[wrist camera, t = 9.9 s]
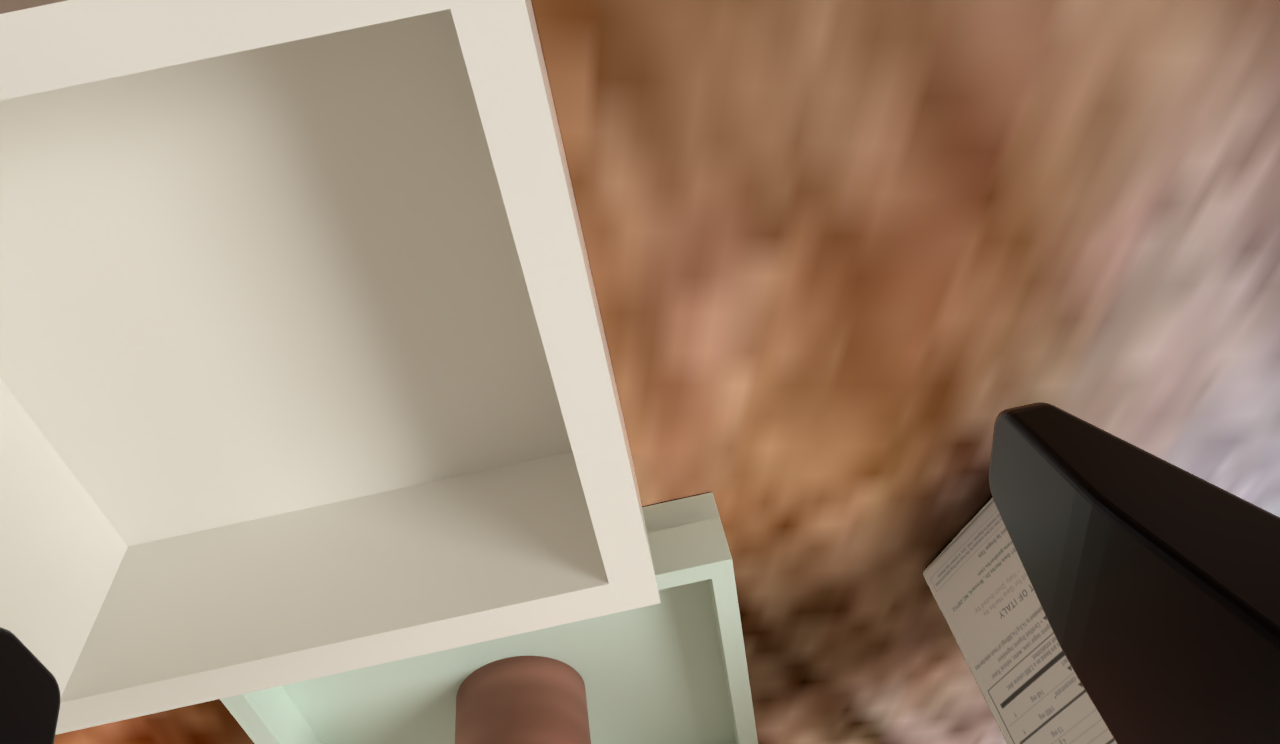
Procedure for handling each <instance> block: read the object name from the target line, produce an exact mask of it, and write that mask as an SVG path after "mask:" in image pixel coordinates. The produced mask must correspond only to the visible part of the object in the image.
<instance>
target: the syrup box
mask: <svg viewBox="0 0 1280 744" xmlns="http://www.w3.org/2000/svg"><path fill="white" fill-rule="evenodd" d="M923 576H924V578H925V580H926V583H927V585H928V586H929V588H930V590H931V592H932V595H933V597H934V599H935V600H936V602H937V604H938V606H939V609H940V611H941V612H942V614H943V616H944V618H945V620H946V622H947V624H948V626H949V627H950V629H951V632H952V634H953V636H954V638H955V640H956V643H957V644H958V646H959V648H960V650H961V652H962V654H963V657H964V659H965V661H966V663H967V664H968V666H969V668H970V670H971V672H972V674H973V676H974V678H975V680H976V682H977V684H978V686H979V688H980V690H981V692H982V694H983V696H984V698H985V700H986V702H987V704H988V706H989V708H990V710H991V712H992V714H993V716H994V718H995V720H996V722H997V723H998V725H999V728H1000V730H1001V732H1002V734H1003V736H1004V738H1005V740H1006V742H1007V744H1117V743H1116V741H1115V739H1114V737H1113V736H1112V734H1111V732H1110V731H1109V729H1108V727H1107V726H1106V724H1105V722H1104V721H1103V719H1102V717H1101V716H1100V714H1099V712H1098V711H1097V709H1096V707H1095V706H1094V704H1093V702H1092V700H1091V699H1090V697H1089V695H1088V694H1087V692H1086V690H1085V689H1084V687H1083V685H1082V684H1081V682H1080V680H1079V679H1078V677H1077V675H1076V674H1075V672H1074V670H1073V668H1072V667H1071V665H1070V663H1069V661H1068V659H1067V658H1066V656H1065V654H1064V652H1063V650H1062V649H1061V647H1060V645H1059V643H1058V641H1057V639H1056V636H1055V634H1054V632H1053V630H1052V628H1051V626H1050V624H1049V622H1048V620H1047V618H1046V615H1045V613H1044V611H1043V609H1042V606H1041V604H1040V602H1039V600H1038V598H1037V595H1036V593H1035V591H1034V589H1033V587H1032V584H1031V582H1030V580H1029V578H1028V576H1027V573H1026V571H1025V569H1024V567H1023V564H1022V562H1021V560H1020V558H1019V556H1018V553H1017V551H1016V549H1015V547H1014V545H1013V542H1012V540H1011V538H1010V536H1009V534H1008V531H1007V529H1006V527H1005V525H1004V522H1003V520H1002V518H1001V516H1000V514H999V511H998V509H997V507H996V505H995V502H994V500H993V498H992V499H991V500H990V501H989V502H988V503H987V504H986V505H985V506H984V507H983V508H982V509H981V510H980V511H979V512H978V514H977V515H976V516H975V517H974V518H973V519H972V520H971V521H970V522H969V523H968V524H967V525H966V526H965V527H964V528H963V529H962V530H961V532H960V533H959V534H958V535H957V536H956V537H955V538H954V539H953V540H952V542H951V543H950V544H949V545H948V546H947V547H946V548H945V549H944V550H943V551H942V552H941V553H940V554H939V556H938V557H937V558H936V559H935V560H934V561H933V562H932V563H931V564H930V565H929V566H928V567H927V568H926V569H925V570H924V572H923Z"/></svg>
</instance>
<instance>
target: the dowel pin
mask: <svg viewBox="0 0 1280 744" xmlns="http://www.w3.org/2000/svg"><path fill="white" fill-rule="evenodd" d="M455 744H591V739H590V729H589V719H588V710H587V700H586V690H585V684H584V681H583V679H582V677H581V676H580V674H579V673H578V672H577V671H576V670H575V669H574V668H572V667H571V666H569V665H568V664H566V663H564V662H561V661H559V660H556V659H552V658H548V657H542V656H515V657H509V658H504V659H500V660H497V661H494V662H491V663H488V664H486V665H484V666H482V667H480V668H479V669H477V670H475V671H474V672H473V673H471V674H470V675H469V676H468V677H467V678H466V679H465V680H464V681H463V682H462V684H461V685H460V687H459V689H458V692H457V696H456V721H455Z"/></svg>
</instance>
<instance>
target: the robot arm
mask: <svg viewBox="0 0 1280 744" xmlns="http://www.w3.org/2000/svg"><path fill="white" fill-rule="evenodd" d="M989 485H990V490H991V494H992V497H993V500H994V502H995V505H996V507H997V509H998V511H999V514H1000V516H1001V518H1002V520H1003V522H1004V525H1005V527H1006V529H1007V531H1008V534H1009V536H1010V538H1011V540H1012V542H1013V545H1014V547H1015V549H1016V551H1017V553H1018V556H1019V558H1020V560H1021V562H1022V564H1023V567H1024V569H1025V571H1026V573H1027V576H1028V578H1029V580H1030V582H1031V584H1032V587H1033V589H1034V591H1035V593H1036V595H1037V598H1038V600H1039V602H1040V604H1041V606H1042V609H1043V611H1044V613H1045V615H1046V618H1047V620H1048V622H1049V624H1050V626H1051V628H1052V630H1053V632H1054V634H1055V636H1056V639H1057V641H1058V643H1059V645H1060V647H1061V649H1062V650H1063V652H1064V654H1065V656H1066V658H1067V659H1068V661H1069V663H1070V665H1071V667H1072V668H1073V670H1074V672H1075V674H1076V675H1077V677H1078V679H1079V680H1080V682H1081V684H1082V685H1083V687H1084V689H1085V690H1086V692H1087V694H1088V695H1089V697H1090V699H1091V700H1092V702H1093V704H1094V706H1095V707H1096V709H1097V711H1098V712H1099V714H1100V716H1101V717H1102V719H1103V721H1104V722H1105V724H1106V726H1107V727H1108V729H1109V731H1110V732H1111V734H1112V736H1113V737H1114V739H1115V741H1116V743H1117V744H1280V517H1278V516H1276V515H1274V514H1272V513H1269V512H1267V511H1265V510H1263V509H1261V508H1259V507H1257V506H1255V505H1253V504H1251V503H1249V502H1247V501H1245V500H1243V499H1241V498H1239V497H1237V496H1235V495H1233V494H1231V493H1229V492H1227V491H1225V490H1223V489H1221V488H1219V487H1217V486H1215V485H1213V484H1211V483H1209V482H1207V481H1205V480H1203V479H1201V478H1199V477H1197V476H1195V475H1193V474H1191V473H1189V472H1187V471H1185V470H1183V469H1181V468H1179V467H1177V466H1175V465H1173V464H1171V463H1169V462H1167V461H1165V460H1162V459H1160V458H1158V457H1156V456H1154V455H1152V454H1150V453H1148V452H1146V451H1144V450H1142V449H1140V448H1138V447H1136V446H1134V445H1132V444H1130V443H1128V442H1126V441H1124V440H1122V439H1120V438H1118V437H1116V436H1114V435H1112V434H1110V433H1108V432H1106V431H1104V430H1102V429H1100V428H1098V427H1096V426H1094V425H1092V424H1090V423H1088V422H1086V421H1084V420H1082V419H1080V418H1078V417H1076V416H1074V415H1072V414H1070V413H1068V412H1066V411H1064V410H1062V409H1060V408H1058V407H1055V406H1053V405H1051V404H1048V403H1034V404H1029V405H1024V406H1020V407H1015V408H1010V409H1006V410H1004V411H1002V412H1000V414H999V415H998V416H997V418H996V421H995V425H994V434H993V443H992V451H991V460H990V469H989ZM60 701H61V700H60V690H59V685H58V683H57V681H56V679H55V677H54V676H53V674H52V673H51V672H50V671H49V670H48V669H47V668H46V667H45V666H44V665H43V664H42V663H41V662H40V661H39V660H38V659H37V658H36V657H35V655H34V654H33V653H32V652H31V651H30V650H29V649H28V648H27V647H26V646H25V645H24V644H23V643H22V642H21V641H20V640H19V639H18V638H17V637H16V636H15V635H14V634H13V633H12V632H11V631H9V630H7V629H4V628H1V627H0V744H54V738H55V733H56V727H57V721H58V715H59V710H60Z"/></svg>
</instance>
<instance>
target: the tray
mask: <svg viewBox="0 0 1280 744" xmlns="http://www.w3.org/2000/svg"><path fill="white" fill-rule="evenodd" d="M642 510H643V515H644V520H645V525H646V530H647V536H648V541H649V546H650V551H651V556H652V561H653V566H654V571H655V576H656V581H657V586H658V591H659V596H660V601H661V603H660V604H655V605H650V606H646V607H641V608H636V609H632V610H627V611H623V612H618V613H613V614H609V615H604V616H600V617H595V618H590V619H586V620H581V621H577V622H572V623H567V624H563V625H558V626H554V627H549V628H544V629H540V630H535V631H531V632H526V633H521V634H517V635H512V636H508V637H503V638H498V639H494V640H489V641H485V642H480V643H475V644H471V645H466V646H462V647H457V648H452V649H448V650H443V651H439V652H434V653H429V654H425V655H420V656H415V657H411V658H406V659H402V660H397V661H392V662H388V663H383V664H379V665H374V666H369V667H365V668H360V669H356V670H351V671H346V672H342V673H337V674H333V675H328V676H323V677H319V678H314V679H310V680H305V681H300V682H296V683H291V684H287V685H282V686H277V687H273V688H268V689H264V690H259V691H254V692H250V693H245V694H241V695H236V696H231V697H227V698H222V699H220V700H221V702H222V703H223V704H224V705H225V707H226V708H227V709H228V711H229V712H230V713H231V714H232V716H233V717H234V718H235V719H236V721H237V722H238V723H239V724H240V726H241V727H242V728H243V730H244V731H245V732H246V733H247V735H248V736H249V737H250V738H251V740H252V741H253V742H254V744H455V721H456V696H457V692H458V689H459V687H460V685H461V684H462V682H463V681H464V680H465V679H466V678H467V677H468V676H469V675H470V674H471V673H473V672H474V671H475V670H477V669H479V668H480V667H482V666H484V665H486V664H488V663H491V662H494V661H497V660H500V659H504V658H509V657H515V656H542V657H548V658H552V659H556V660H559V661H561V662H564V663H566V664H568V665H569V666H571V667H572V668H574V669H575V670H576V671H577V672H578V673H579V674H580V676H581V677H582V679H583V681H584V684H585V690H586V700H587V710H588V719H589V729H590V739H591V744H758V739H757V732H756V725H755V718H754V711H753V704H752V697H751V690H750V682H749V675H748V668H747V661H746V654H745V647H744V640H743V633H742V626H741V619H740V612H739V605H738V598H737V591H736V584H735V577H734V569H733V562H732V557H731V554H730V550H729V547H728V544H727V540H726V537H725V533H724V530H723V527H722V523H721V520H720V517H719V513H718V510H717V506H716V503H715V500H714V496H713V493H712V492H711V493H706V494H702V495H697V496H692V497H688V498H683V499H678V500H674V501H669V502H664V503H660V504H655V505H651V506H646V507H642Z"/></svg>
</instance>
